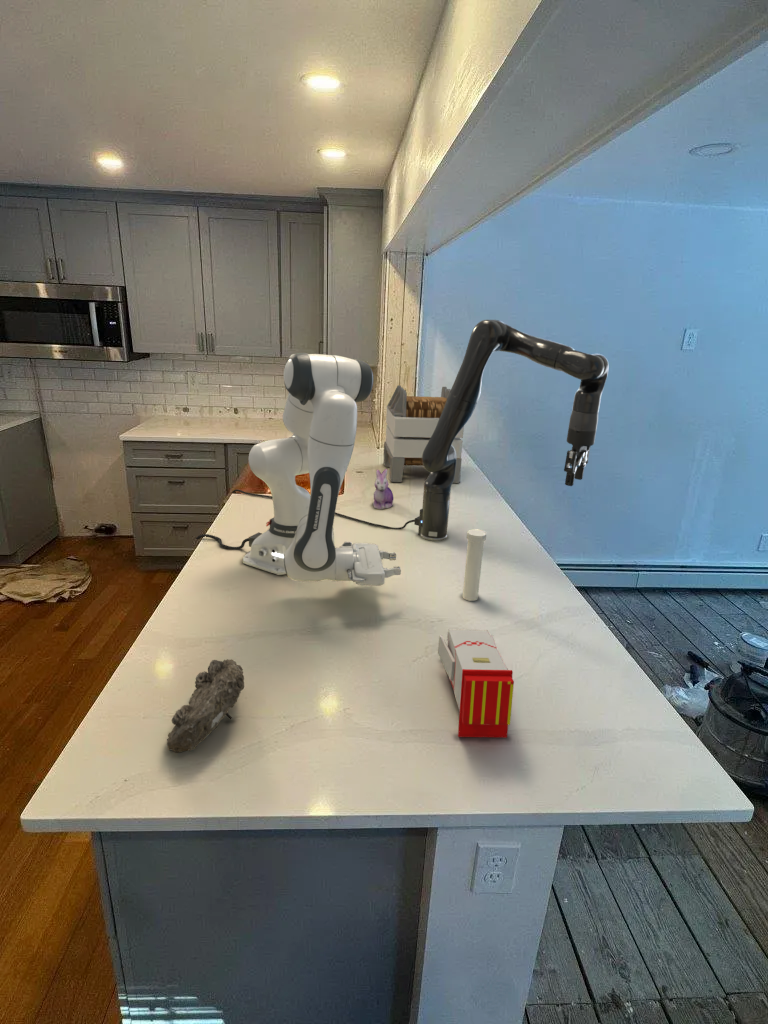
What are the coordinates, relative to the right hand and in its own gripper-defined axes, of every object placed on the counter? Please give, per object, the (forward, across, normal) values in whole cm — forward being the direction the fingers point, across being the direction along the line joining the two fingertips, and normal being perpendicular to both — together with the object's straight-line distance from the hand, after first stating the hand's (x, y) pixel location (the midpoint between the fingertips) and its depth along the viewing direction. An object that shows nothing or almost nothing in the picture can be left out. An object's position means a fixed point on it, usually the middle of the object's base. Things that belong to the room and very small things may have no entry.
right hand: (573, 482), depth 165 cm
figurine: (+29, -14, -77) cm, 84 cm away
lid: (+10, +32, -14) cm, 37 cm away
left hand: (+19, +46, -29) cm, 58 cm away
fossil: (+29, +108, -30) cm, 115 cm away
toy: (+29, +70, +5) cm, 76 cm away
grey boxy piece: (+29, -65, -92) cm, 116 cm away
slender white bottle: (+29, +32, -14) cm, 46 cm away
